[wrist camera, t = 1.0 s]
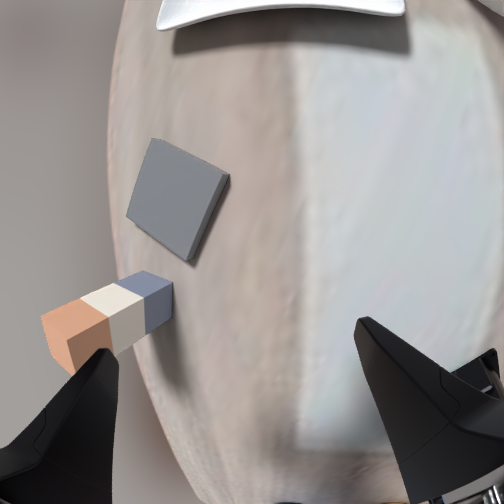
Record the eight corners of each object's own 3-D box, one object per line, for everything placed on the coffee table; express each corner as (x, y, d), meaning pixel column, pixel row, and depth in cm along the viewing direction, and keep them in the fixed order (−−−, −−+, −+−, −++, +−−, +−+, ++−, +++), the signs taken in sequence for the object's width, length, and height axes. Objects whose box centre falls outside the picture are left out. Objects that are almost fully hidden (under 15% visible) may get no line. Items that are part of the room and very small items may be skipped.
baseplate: (229, 174, 21) (222, 173, 20) (193, 257, 24) (185, 260, 23) (160, 139, 22) (151, 137, 21) (134, 214, 25) (125, 216, 24)
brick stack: (172, 282, 25) (66, 340, 14) (171, 317, 27) (78, 381, 15) (142, 270, 27) (40, 315, 15) (143, 303, 28) (52, 356, 16)
